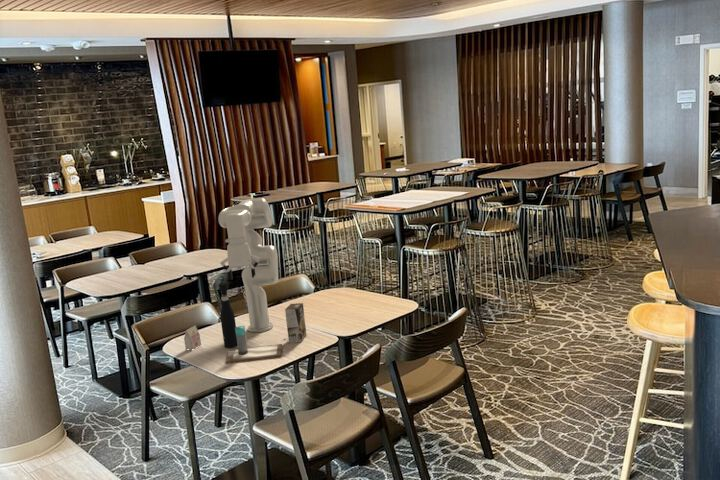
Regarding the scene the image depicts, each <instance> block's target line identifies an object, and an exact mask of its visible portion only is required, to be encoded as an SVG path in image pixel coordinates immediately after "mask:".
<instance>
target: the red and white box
mask: <svg viewBox="0 0 720 480" xmlns="http://www.w3.org/2000/svg"><path fill="white" fill-rule="evenodd" d="M183 341H184V346H185V347H184V348H185V350H186V349H189V350H192V349H195V348H196V347H198V346H200V345H201V346H202V341H201V334H200V333H199V330H198V328H197V325H194V326H191V327H190V328H188V329H186V330H185V333H184V337H183ZM201 346H200V347H201ZM198 348H199V347H198ZM195 350H196V349H195Z"/></svg>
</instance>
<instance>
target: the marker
mask: <svg viewBox="0 0 720 480" xmlns="http://www.w3.org/2000/svg"><path fill="white" fill-rule="evenodd" d="M235 331H236V337H237V345H238V346H237V349H238V353H239V355H245V354H247V353H248V350H247V348H248V344H247V336H246V327H245V326H244V325H238V326H236V328H235Z"/></svg>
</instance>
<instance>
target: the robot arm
mask: <svg viewBox="0 0 720 480" xmlns="http://www.w3.org/2000/svg"><path fill="white" fill-rule="evenodd" d="M273 223H274V217H273V213H272V210H271V208H270V205H269V203H268V201H267V200H266V199H265V198H263V197H259V198H248V199H243V200H242V201H240V202H239V203H238V204H236V205H233V206H228V207H226V208H224V209H222V210H221V211H220V212H219V214H218V224H219V226H220V227H222V228H223V229H226V231H227V237H228V238H226V239H225V242H224V243H228V244H227V246H226V248H227V249H226V251H227V257H226V258H225V259H223V260H222V261H220V263H219V264H220V265H221V266H222V268H223V269H224V270H225V271H226V272H227V274H228V279H229V280H230V281H232V280H233V279H234V277H233V276H234V275H233V270H232V268H242V267H246V268H244V269H243V270H242V271H241V278H242V282H243V285H244V290H245V294H246V303H247V309H248V311H247V312H248V317H249V326H247V331H248V332H249V333H261V332H267V331H269V330H272V329H273V327H274V324H273V322H270V317H269V310H268V309H269V307H268V300H267V294H266V291H265V289H264V288H263V287H262V286H268V285H275V284H276V283H277V282H278V281H279V262H278V259H279V257H278V250H277V248H276V247H275V246H274V245H263V237H262V236H261V235H260V234H259V233H258V232H257V231H255V229H263V228H270V227H272V226H273ZM226 263H227V264H228V266H227V265H226Z"/></svg>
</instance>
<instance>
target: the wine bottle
mask: <svg viewBox="0 0 720 480" xmlns="http://www.w3.org/2000/svg"><path fill="white" fill-rule="evenodd" d="M218 290H219V292H220V293H221V296H220V297H221V298H220V299H221V301H220V304H221V310H220V318H219V319H220V325H221V331H222V338H223V344H224V348H225V349H234V348H238V345H237V337H236V331H235V328H236V327H237V326H236V325H237V324H236V317H235V313H234V310H233V308H232V306H231V304H230V303H231V301H230V298H229V295H228V291H229V287H228V282H220V283H219V284H218Z"/></svg>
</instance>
